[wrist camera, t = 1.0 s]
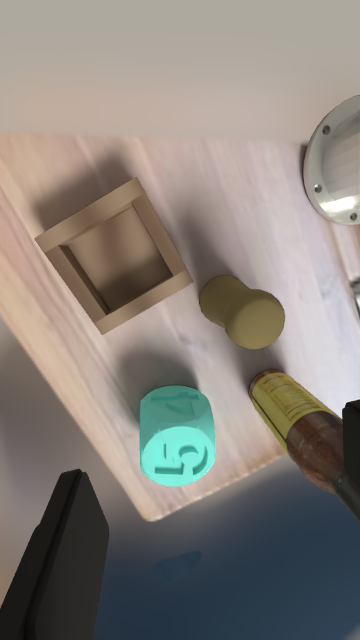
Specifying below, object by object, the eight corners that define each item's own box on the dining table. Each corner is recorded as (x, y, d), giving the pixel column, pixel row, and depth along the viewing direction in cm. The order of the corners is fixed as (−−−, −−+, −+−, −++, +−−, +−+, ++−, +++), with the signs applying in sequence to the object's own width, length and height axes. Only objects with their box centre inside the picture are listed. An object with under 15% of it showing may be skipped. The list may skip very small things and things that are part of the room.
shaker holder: (138, 187, 27) (136, 176, 23) (188, 278, 30) (193, 281, 26) (49, 240, 27) (33, 238, 23) (107, 325, 30) (102, 335, 27)
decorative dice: (141, 386, 33) (138, 427, 25) (202, 383, 34) (217, 421, 26) (143, 438, 35) (141, 491, 27) (200, 434, 36) (214, 484, 28)
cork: (205, 270, 30) (236, 280, 19) (253, 280, 31) (307, 295, 20) (194, 319, 31) (217, 353, 21) (240, 327, 32) (284, 364, 22)
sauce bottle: (286, 406, 36) (438, 579, 17) (244, 408, 35) (354, 590, 16) (293, 364, 35) (471, 503, 15) (249, 364, 34) (378, 511, 15)
